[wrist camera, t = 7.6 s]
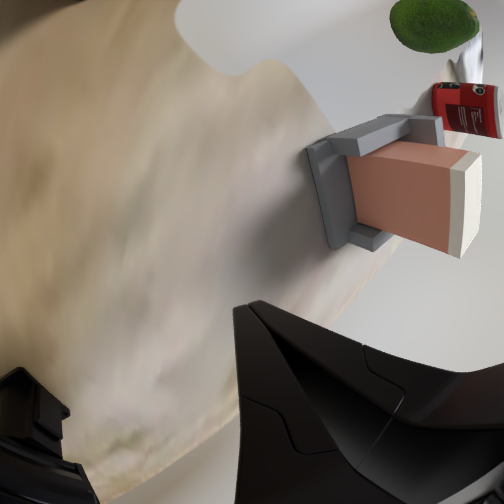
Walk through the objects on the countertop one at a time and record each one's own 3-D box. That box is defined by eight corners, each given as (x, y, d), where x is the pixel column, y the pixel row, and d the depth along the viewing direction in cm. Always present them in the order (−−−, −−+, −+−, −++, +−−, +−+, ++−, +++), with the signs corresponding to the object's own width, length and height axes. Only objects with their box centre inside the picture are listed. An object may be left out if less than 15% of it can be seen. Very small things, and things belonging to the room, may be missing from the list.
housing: (329, 249, 27) (386, 275, 22) (305, 144, 22) (373, 148, 16) (398, 198, 31) (447, 212, 26) (386, 113, 26) (441, 116, 20)
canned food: (448, 91, 33) (505, 96, 24) (448, 134, 35) (506, 145, 27) (430, 74, 29) (495, 77, 20) (430, 123, 32) (498, 132, 23)
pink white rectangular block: (357, 221, 27) (460, 258, 18) (345, 153, 23) (465, 171, 14) (385, 201, 28) (478, 230, 19) (376, 139, 25) (481, 153, 16)
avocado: (394, 1, 22) (472, -9, 12) (415, 50, 26) (492, 50, 16) (365, 3, 20) (458, -14, 10) (391, 61, 24) (484, 59, 15)
